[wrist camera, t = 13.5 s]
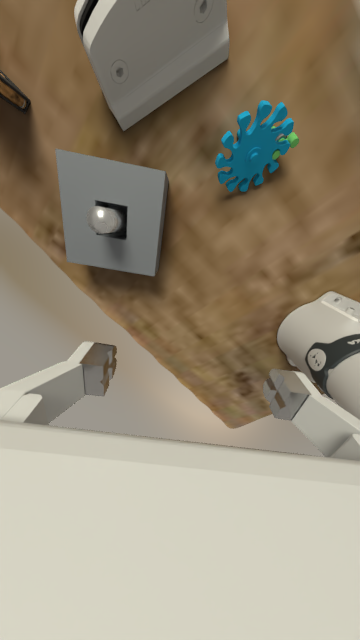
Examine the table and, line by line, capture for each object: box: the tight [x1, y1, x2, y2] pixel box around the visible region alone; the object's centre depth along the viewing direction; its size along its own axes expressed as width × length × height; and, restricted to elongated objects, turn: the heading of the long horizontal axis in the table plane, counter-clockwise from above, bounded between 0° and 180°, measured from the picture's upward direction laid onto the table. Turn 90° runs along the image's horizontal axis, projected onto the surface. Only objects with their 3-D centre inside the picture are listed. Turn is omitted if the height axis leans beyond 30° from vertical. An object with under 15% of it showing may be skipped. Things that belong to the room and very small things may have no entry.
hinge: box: [74, 0, 229, 131], centre depth 21 cm, size 17×5×10 cm, turn 116°
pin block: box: [55, 149, 169, 276], centre depth 30 cm, size 14×14×6 cm
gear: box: [215, 101, 299, 192], centre depth 26 cm, size 11×6×10 cm
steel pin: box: [87, 206, 127, 234], centre depth 27 cm, size 3×3×10 cm
